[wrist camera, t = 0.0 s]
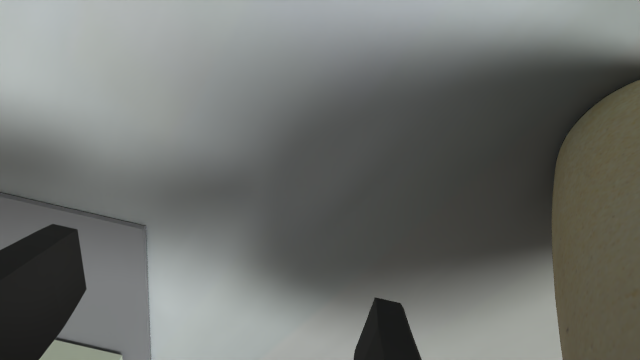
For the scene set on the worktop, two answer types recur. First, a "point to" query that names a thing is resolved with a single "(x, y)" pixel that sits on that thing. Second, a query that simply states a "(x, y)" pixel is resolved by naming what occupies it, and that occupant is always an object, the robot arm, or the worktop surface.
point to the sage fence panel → (76, 353)
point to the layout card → (95, 274)
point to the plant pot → (599, 231)
